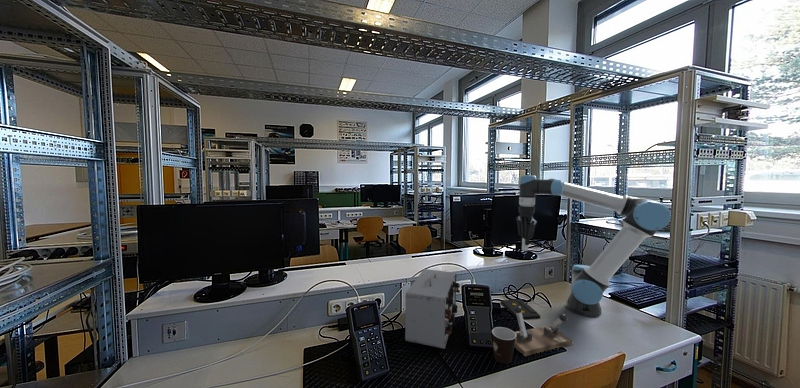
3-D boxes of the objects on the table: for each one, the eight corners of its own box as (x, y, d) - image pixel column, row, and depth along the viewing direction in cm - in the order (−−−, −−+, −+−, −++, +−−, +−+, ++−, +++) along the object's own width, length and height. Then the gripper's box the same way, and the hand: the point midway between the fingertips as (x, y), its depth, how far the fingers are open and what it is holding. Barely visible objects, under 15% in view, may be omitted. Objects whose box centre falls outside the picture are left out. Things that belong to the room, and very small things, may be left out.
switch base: (548, 329, 128) (549, 318, 128) (572, 344, 117) (572, 333, 117) (504, 338, 121) (504, 327, 121) (524, 356, 110) (525, 344, 109)
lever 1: (525, 337, 118) (517, 305, 122) (530, 338, 115) (522, 305, 119) (519, 338, 117) (511, 306, 121) (524, 339, 114) (516, 306, 119)
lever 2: (550, 327, 123) (565, 311, 116) (555, 333, 121) (570, 318, 114) (545, 328, 122) (559, 312, 115) (549, 335, 120) (564, 319, 113)
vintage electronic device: (449, 354, 111) (450, 292, 109) (405, 345, 117) (405, 286, 115) (459, 315, 141) (460, 266, 139) (424, 309, 146) (424, 262, 144)
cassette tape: (540, 319, 138) (540, 315, 138) (518, 320, 137) (518, 316, 137) (520, 302, 156) (520, 298, 156) (500, 303, 155) (500, 299, 155)
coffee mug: (517, 367, 104) (518, 341, 103) (492, 364, 105) (493, 338, 104) (511, 347, 115) (512, 324, 114) (489, 345, 117) (489, 322, 116)
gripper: (512, 204, 150) (510, 247, 152) (530, 207, 138) (528, 254, 140) (523, 203, 153) (521, 246, 154) (542, 206, 140) (540, 253, 142)
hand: (524, 250), depth 147 cm, fingers closed
